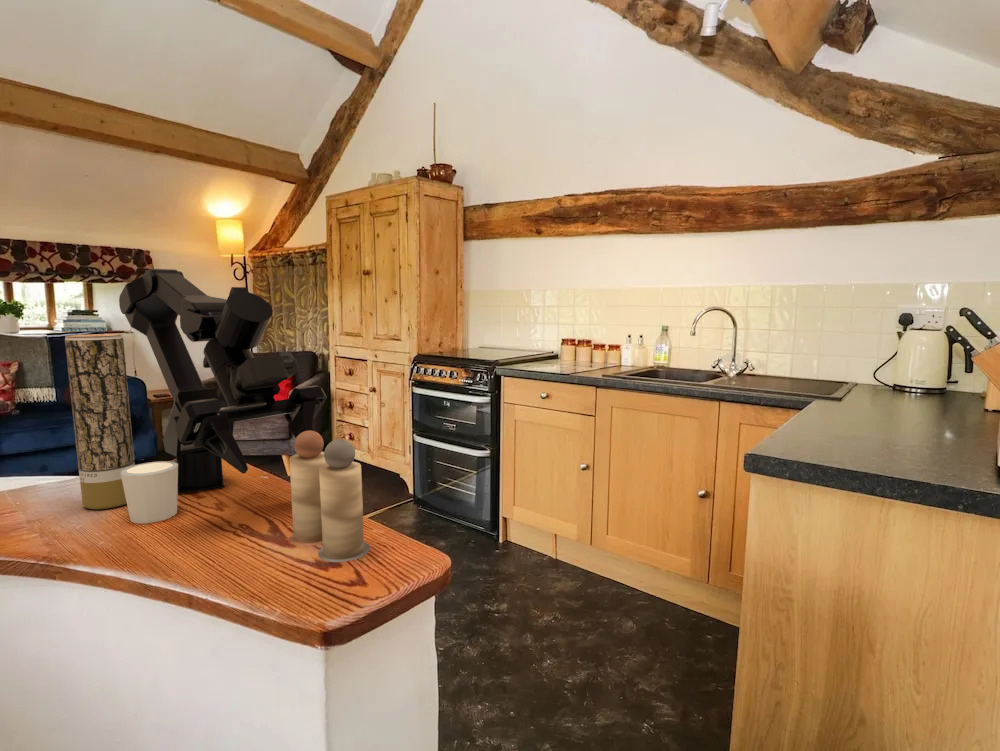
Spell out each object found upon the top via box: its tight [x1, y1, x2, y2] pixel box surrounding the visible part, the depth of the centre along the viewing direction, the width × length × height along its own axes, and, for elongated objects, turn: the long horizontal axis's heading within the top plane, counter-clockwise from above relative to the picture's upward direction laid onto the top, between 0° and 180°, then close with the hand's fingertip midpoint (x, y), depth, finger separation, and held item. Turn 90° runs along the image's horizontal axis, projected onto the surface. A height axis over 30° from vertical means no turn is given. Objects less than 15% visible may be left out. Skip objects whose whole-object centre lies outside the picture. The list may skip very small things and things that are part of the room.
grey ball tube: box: [319, 438, 365, 560], centre depth 64 cm, size 5×5×13 cm
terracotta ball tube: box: [289, 430, 327, 543], centre depth 68 cm, size 5×5×13 cm
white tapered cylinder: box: [120, 460, 178, 524], centre depth 78 cm, size 7×7×7 cm
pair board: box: [288, 533, 371, 563], centre depth 67 cm, size 13×7×1 cm, turn 49°
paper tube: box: [64, 333, 136, 510], centre depth 82 cm, size 7×7×25 cm
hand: (280, 463), depth 73 cm, fingers open, 9 cm apart
